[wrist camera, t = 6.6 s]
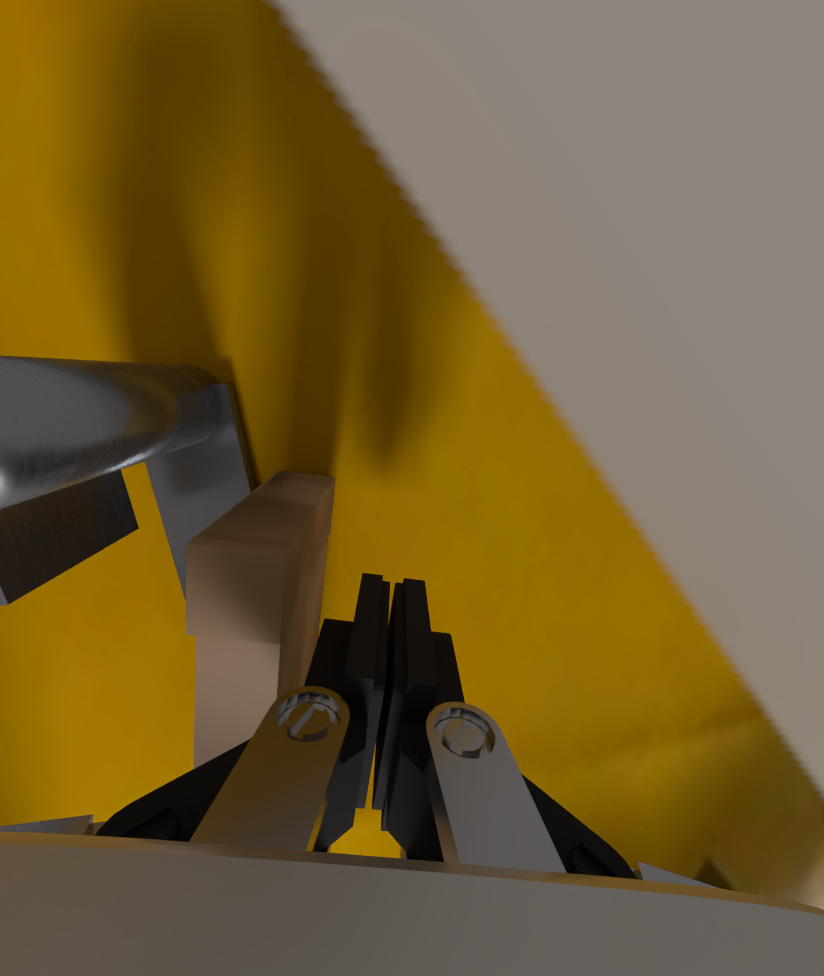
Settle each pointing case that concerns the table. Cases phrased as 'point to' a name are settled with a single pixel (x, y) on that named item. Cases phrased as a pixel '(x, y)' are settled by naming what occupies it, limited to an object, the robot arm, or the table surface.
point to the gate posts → (109, 459)
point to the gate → (255, 605)
